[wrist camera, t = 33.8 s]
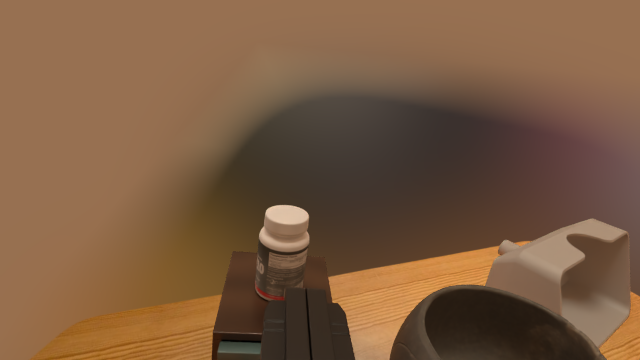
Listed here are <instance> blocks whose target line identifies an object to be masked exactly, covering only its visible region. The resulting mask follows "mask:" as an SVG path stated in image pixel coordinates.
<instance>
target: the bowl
mask: <svg viewBox="0 0 640 360" xmlns="http://www.w3.org/2000/svg"><path fill="white" fill-rule="evenodd" d="M390 360H607V359H606V358H605V357H604V356H603V355H602V354H601V352H600V350H599V349H598V348H597V346H596V345H595V344H594V343H593V341H592V340H591V339H590V338H589V337H588V336H587V335H586V334H584V333H583V332H582V331H580V330H578V329H577V328H576V327H575V326H574V325H573V324H571V323H570V322H569V321H568V320H567V319H565V318H564V317H562V316H560V315H559V314H556V313H555V312H553V311H551V310H549V309H548V308H546V307H544V306H542V305H541V304H538V303H536V302H534V301H532V300H530V299H527V298H525V297H522V296H520V295H517V294H514V293H511V292H508V291H504V290H501V289H497V288H493V287H487V286H481V285H455V286H449V287H445V288H442V289H440V290H438V291H436V292H434V293H432V294H430V295H429V296H427V297H426V298H425V299H423V300H422V301H421V302H420V303H419V304H418V305H417V306H416V307H415V308H414V309H413V310H412V312H411V313H410V314H409V315H408V316H407V318H406V319H405V321H404V323H403V324H402V326H401V328H400V330H399V332H398V334H397V336H396V338H395V341H394V344H393V347H392V350H391V354H390Z"/></svg>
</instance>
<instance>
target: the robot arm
mask: <svg viewBox="0 0 640 360" xmlns="http://www.w3.org/2000/svg"><path fill="white" fill-rule="evenodd" d="M347 325H348V324H347V319H346V314H345V312H344V311H343V309H342V308H341V307H340V305H339V304H338V303H327V297H326V291H325V289H319V288H306V289H305V288H301V287H286V288H285V295H284V300H271V301H270V302H269V303H268V305H267V306H266V308H265V311H264V320H263V330H262V340H261V352H260V360H355V357H354V352H353V347H352V342H351V338H350V335H349V328H348V326H347Z"/></svg>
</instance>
